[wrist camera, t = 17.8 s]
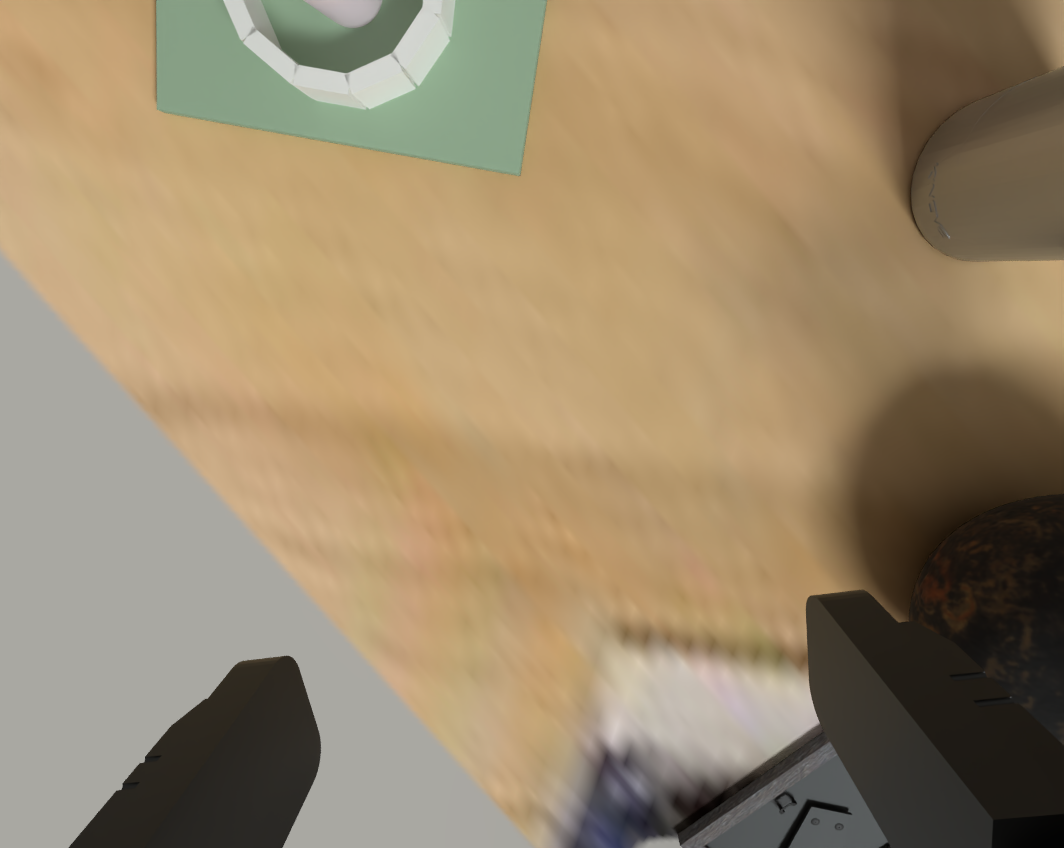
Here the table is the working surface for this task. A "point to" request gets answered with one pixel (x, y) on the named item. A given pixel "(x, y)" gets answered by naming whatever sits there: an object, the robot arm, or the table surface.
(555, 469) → the table surface
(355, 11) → the smoothie
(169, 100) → the practice green
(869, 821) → the picture frame
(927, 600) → the glass bottle
